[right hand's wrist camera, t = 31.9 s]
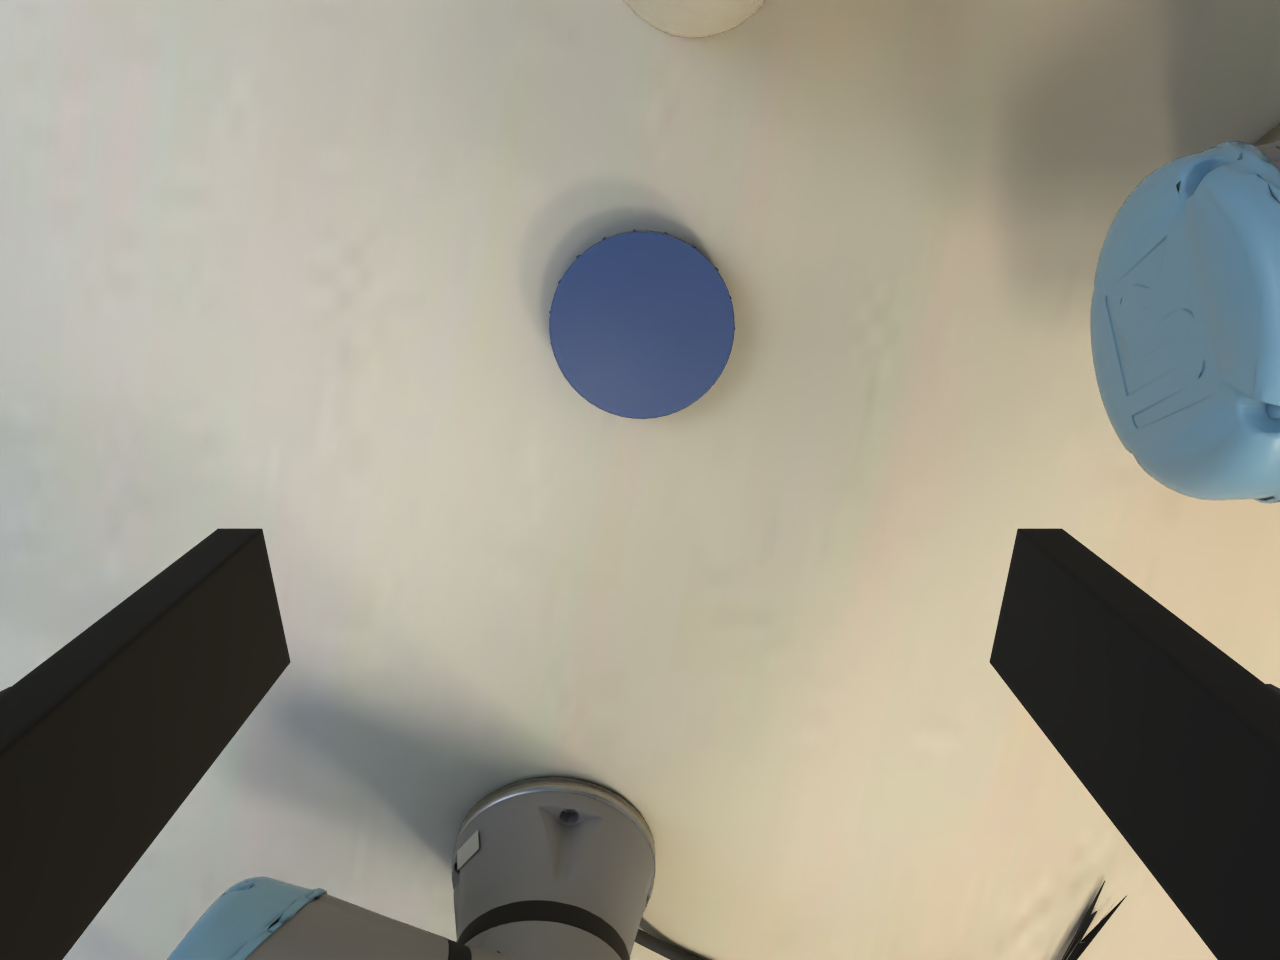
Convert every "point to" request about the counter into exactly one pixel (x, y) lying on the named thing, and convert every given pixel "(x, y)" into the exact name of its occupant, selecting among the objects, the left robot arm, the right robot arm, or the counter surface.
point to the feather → (1078, 945)
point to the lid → (641, 324)
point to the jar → (694, 15)
